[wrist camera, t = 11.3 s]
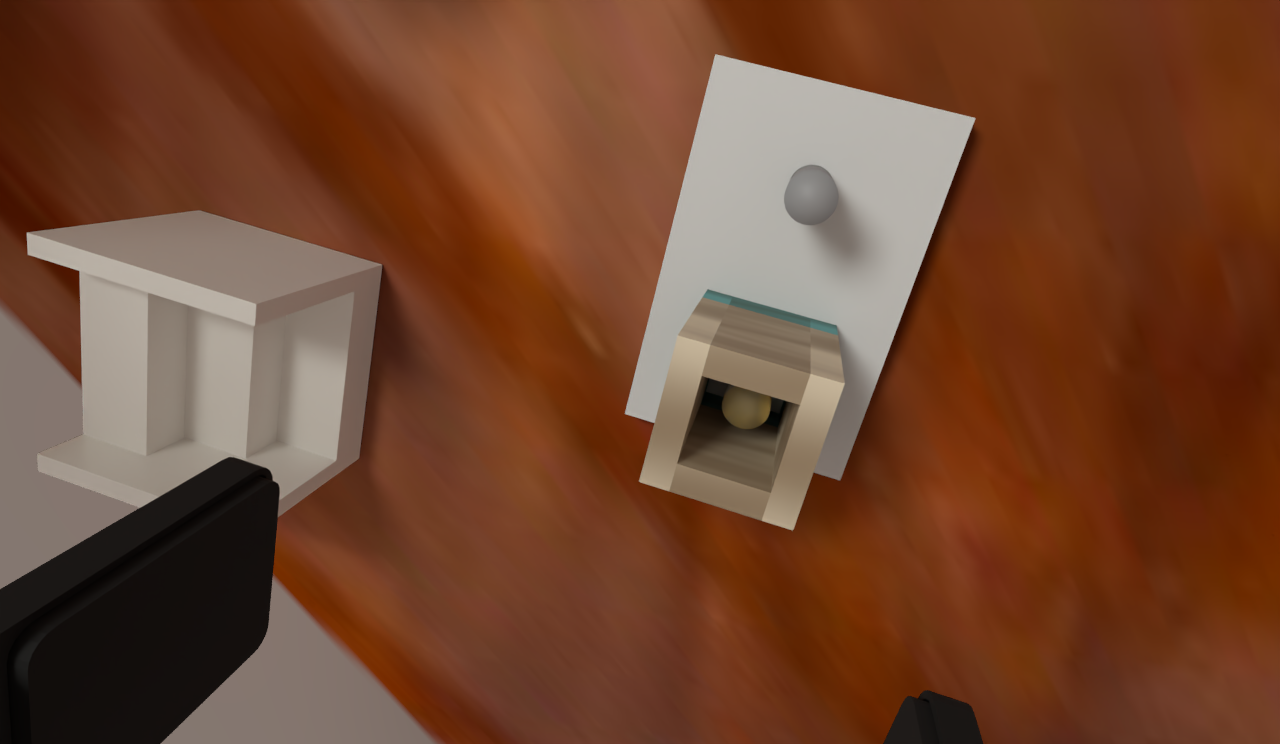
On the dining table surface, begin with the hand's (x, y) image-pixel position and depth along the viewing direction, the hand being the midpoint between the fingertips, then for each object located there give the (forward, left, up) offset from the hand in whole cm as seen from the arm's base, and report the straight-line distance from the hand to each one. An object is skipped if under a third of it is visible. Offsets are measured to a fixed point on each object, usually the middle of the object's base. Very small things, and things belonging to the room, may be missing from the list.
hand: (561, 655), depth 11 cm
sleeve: (+2, -1, -20) cm, 20 cm away
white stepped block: (-19, -7, -21) cm, 29 cm away
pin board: (+2, +2, -21) cm, 21 cm away
